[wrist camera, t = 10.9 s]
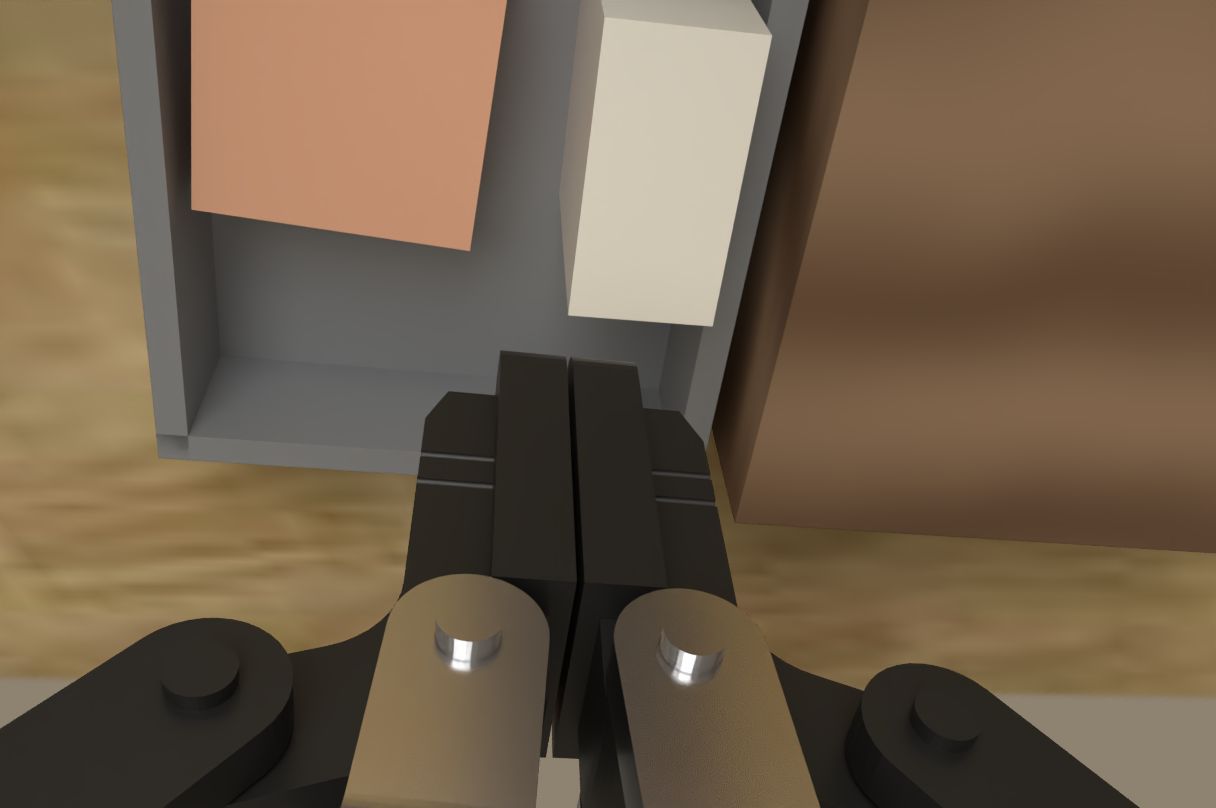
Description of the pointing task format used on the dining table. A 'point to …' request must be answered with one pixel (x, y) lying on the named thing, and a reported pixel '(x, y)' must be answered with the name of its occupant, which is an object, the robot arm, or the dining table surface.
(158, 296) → the box
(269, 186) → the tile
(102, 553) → the dining table surface
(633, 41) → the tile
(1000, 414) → the wooden grain block
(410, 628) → the robot arm
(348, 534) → the dining table surface
